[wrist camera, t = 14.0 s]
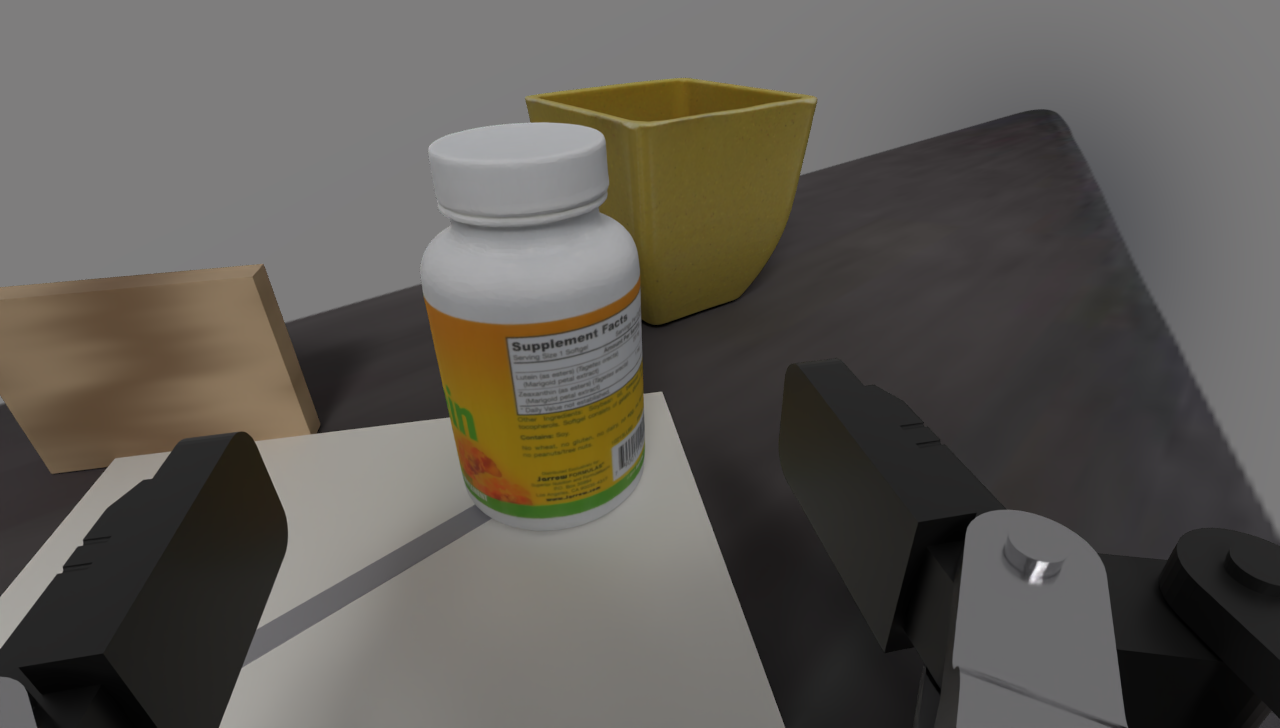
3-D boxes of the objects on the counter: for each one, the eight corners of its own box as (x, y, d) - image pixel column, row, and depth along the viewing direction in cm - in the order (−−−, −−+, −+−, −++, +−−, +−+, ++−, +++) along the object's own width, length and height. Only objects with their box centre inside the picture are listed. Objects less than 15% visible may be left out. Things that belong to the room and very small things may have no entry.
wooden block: (51, 473, 21) (-59, 305, 18) (70, 453, 22) (-31, 289, 19) (313, 441, 22) (252, 276, 19) (321, 423, 23) (264, 263, 20)
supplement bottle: (454, 442, 21) (386, 129, 16) (611, 405, 22) (594, 109, 18) (481, 562, 17) (399, 181, 12) (674, 505, 18) (674, 149, 13)
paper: (-314, 1001, 10) (-332, 994, 10) (119, 465, 21) (114, 457, 21) (797, 774, 12) (798, 764, 12) (662, 398, 23) (662, 390, 23)
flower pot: (684, 249, 36) (684, 73, 31) (801, 302, 30) (823, 93, 25) (543, 290, 32) (519, 95, 27) (645, 362, 26) (637, 125, 21)
